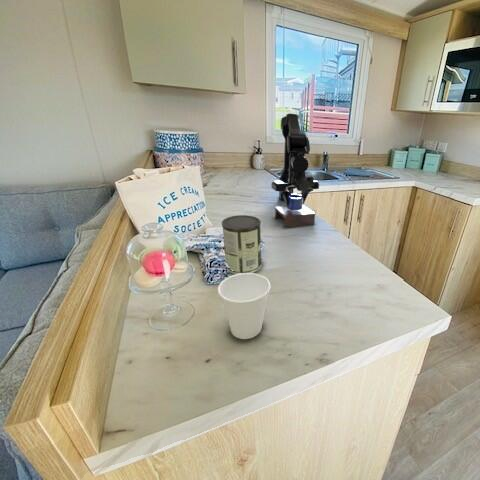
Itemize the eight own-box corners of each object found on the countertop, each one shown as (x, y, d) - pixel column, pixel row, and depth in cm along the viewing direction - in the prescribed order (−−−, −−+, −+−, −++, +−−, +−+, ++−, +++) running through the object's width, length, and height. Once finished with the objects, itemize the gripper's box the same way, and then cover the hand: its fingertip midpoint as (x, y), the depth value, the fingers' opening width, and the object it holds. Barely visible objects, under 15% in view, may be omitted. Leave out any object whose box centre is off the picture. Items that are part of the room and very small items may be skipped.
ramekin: (298, 204, 118) (299, 193, 116) (305, 209, 113) (305, 197, 111) (284, 206, 116) (285, 194, 113) (290, 211, 111) (291, 199, 108)
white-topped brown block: (302, 215, 125) (302, 204, 123) (314, 224, 115) (315, 213, 113) (275, 218, 119) (275, 207, 117) (285, 228, 109) (285, 216, 107)
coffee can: (241, 254, 87) (239, 212, 81) (268, 263, 83) (268, 219, 77) (217, 268, 78) (213, 222, 73) (246, 279, 75) (244, 231, 69)
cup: (227, 313, 62) (224, 272, 57) (272, 314, 63) (272, 272, 58) (216, 348, 53) (211, 301, 48) (268, 347, 54) (268, 302, 49)
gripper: (281, 172, 97) (280, 214, 103) (327, 171, 106) (323, 209, 112) (271, 166, 106) (271, 205, 112) (313, 165, 114) (311, 201, 121)
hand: (294, 205), depth 114 cm, fingers closed on ramekin, 6 cm apart
